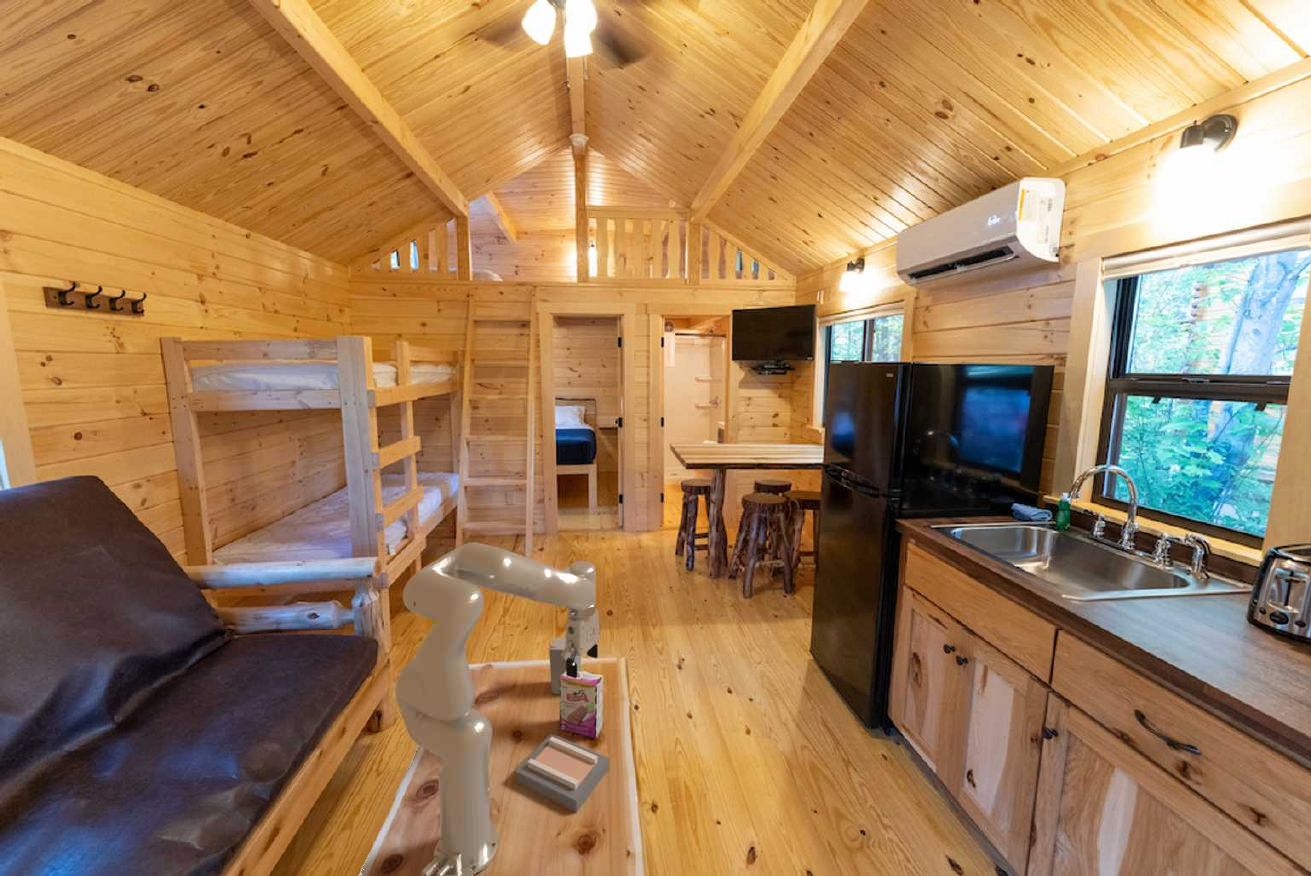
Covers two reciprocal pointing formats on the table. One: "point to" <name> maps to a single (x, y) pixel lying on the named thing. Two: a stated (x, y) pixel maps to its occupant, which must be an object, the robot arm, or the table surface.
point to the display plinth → (562, 771)
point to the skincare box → (559, 663)
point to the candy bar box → (581, 703)
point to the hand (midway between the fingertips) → (582, 666)
